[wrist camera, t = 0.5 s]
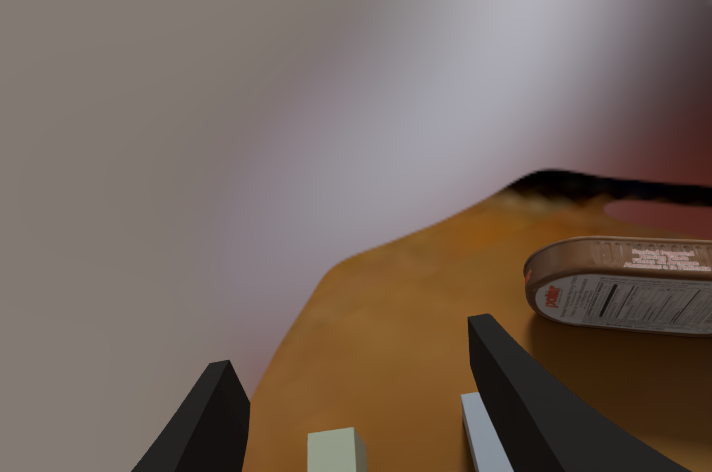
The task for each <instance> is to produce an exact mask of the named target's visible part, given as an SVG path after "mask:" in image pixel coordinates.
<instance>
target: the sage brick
mask: <svg viewBox="0 0 712 472" xmlns="http://www.w3.org/2000/svg"><path fill="white" fill-rule="evenodd" d="M308 472H368V469H367V456H366V445H365V443H364V442H363V440H362V439H361V437H360V436H359V434H358V433H357V432H356V430H355V429H354V427H351V428H344V429H337V430H331V431H324V432H317V433H310V434H308Z"/></svg>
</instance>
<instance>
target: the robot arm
mask: <svg viewBox="0 0 712 472" xmlns="http://www.w3.org/2000/svg"><path fill="white" fill-rule="evenodd" d="M468 335H469V353H470V366H471V369H472V372H473V376H474V379H475V382H476V385H477V388H478V391H479V394H480V397H481V400H482V402H483V404H484V406H485V409H486V411H487V413H488V415H489V418H490V420H491V422H492V424H493V427H494V429H495V431H496V433H497V436H498V438H499V440H500V442H501V445H502V447H503V449H504V451H505V453H506V456H507V458H508V460H509V462H510V465H511V467H512V469H513V471H514V472H691V471H689V470H688V469H686V468H684V467H682V466H681V465H679V464H677V463H675V462H674V461H672V460H670V459H669V458H667V457H666V456H664V455H662V454H661V453H659V452H658V451H656V450H654V449H653V448H651V447H650V446H648V445H646V444H645V443H643V442H642V441H640V440H638V439H637V438H635V437H634V436H632V435H630V434H629V433H627V432H626V431H625V430H623V429H622V428H620V427H619V426H617V425H616V424H614V423H613V422H612V421H610V420H609V419H607V418H606V417H604V416H603V415H602V414H600V413H599V412H598V411H596V410H595V409H593V408H592V407H591V406H589V405H588V404H587V403H585V402H584V401H583V400H582V399H580V398H579V397H578V396H577V395H575V394H574V393H573V392H571V391H570V390H569V389H568V388H567V387H565V386H564V385H563V384H562V383H561V382H559V381H558V380H557V379H556V378H555V377H554V376H552V375H551V374H550V373H549V372H548V371H547V370H546V369H544V368H543V367H542V366H541V365H540V364H539V363H538V362H537V361H536V360H535V359H534V358H533V357H531V356H530V355H529V354H528V353H527V352H526V351H525V350H524V349H523V348H522V347H521V346H520V345H519V344H518V343H517V342H516V341H515V340H514V339H513V338H512V337H511V336H510V335H509V334H508V333H507V332H506V331H505V330H504V329H503V327H502V326H501V325H500V324H499V323H498V322H497V321H496V320H495V319H494V318H493V316H491V315H490V314H482V315H476V316H471V317H468ZM249 418H250V402H249V400H248V398H247V396H246V393H245V391H244V389H243V387H242V385H241V383H240V381H239V379H238V377H237V375H236V373H235V371H234V369H233V366H232V364H231V362H230V360H225V361H220V362H214V363H210V364H209V365H208V366H207V368H206V369H205V371H204V372H203V374H202V375H201V376H200V378H199V379H198V381H197V382H196V384H195V385H194V387H193V388H192V390H191V391H190V393H189V394H188V395H187V397H186V398H185V400H184V401H183V403H182V404H181V406H180V407H179V409H178V410H177V412H176V413H175V414H174V416H173V417H172V419H171V420H170V421H169V423H168V424H167V425H166V427H165V428H164V430H163V431H162V432H161V434H160V435H159V436H158V438H157V439H156V440H155V442H154V443H153V444H152V446H151V447H150V448H149V449H148V451H147V452H146V453H145V455H144V456H143V457H142V459H141V460H140V461H139V462H138V464H137V465H136V466H135V467H134V469H133V470H132V471H131V472H242V467H243V462H244V457H245V451H246V446H247V440H248V431H249Z"/></svg>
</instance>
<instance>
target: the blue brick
mask: <svg viewBox="0 0 712 472" xmlns="http://www.w3.org/2000/svg"><path fill="white" fill-rule="evenodd" d="M461 405H462V417H463V421H464V425H465V429H466V434H467V438H468V442H469V446H470V451H471V455H472V459H473V463H474V468H475V472H514V471H513V469H512V467H511V465H510V462H509V460H508V458H507V456H506V453H505V451H504V449H503V447H502V445H501V442H500V440H499V438H498V436H497V433H496V431H495V429H494V427H493V424H492V422H491V420H490V418H489V415H488V413H487V411H486V409H485V406H484V404H483V402H482V400H481V397H480V394H479V392H476V393H469V394H463V395H461Z"/></svg>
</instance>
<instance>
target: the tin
mask: <svg viewBox="0 0 712 472" xmlns="http://www.w3.org/2000/svg"><path fill="white" fill-rule="evenodd" d="M523 272H524V277H525V292H526V298H527V301H528V303H529V305H530V306H531V308H532V309H533V310H534V311H535V312H537V313H538V314H540V315H541V316H543V317H545V318H547V319H550V320H552V321H555V322H558V323H562V324H567V325H573V326H583V327H591V328H602V329H611V330H621V331H631V332H642V333H652V334H663V335H674V336H685V337H712V240H690V239H659V238H636V237H613V236H581V237H574V238H568V239H563V240H560V241H557V242H553V243H551V244H548V245H546V246H544V247H542V248H540V249H539V250H537V251H535V252H534V253H533V254H532V255H531V256H530V257H529V258H528V259H527V261H526V263H525V265H524V269H523Z"/></svg>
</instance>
